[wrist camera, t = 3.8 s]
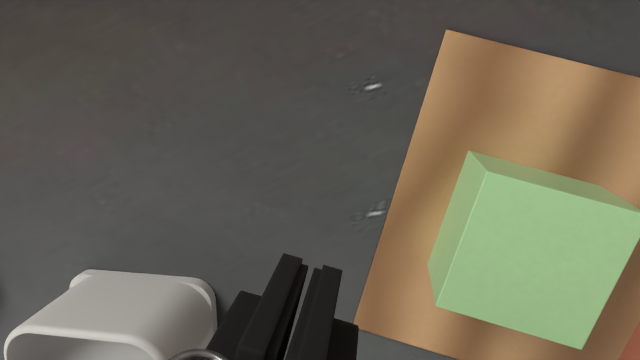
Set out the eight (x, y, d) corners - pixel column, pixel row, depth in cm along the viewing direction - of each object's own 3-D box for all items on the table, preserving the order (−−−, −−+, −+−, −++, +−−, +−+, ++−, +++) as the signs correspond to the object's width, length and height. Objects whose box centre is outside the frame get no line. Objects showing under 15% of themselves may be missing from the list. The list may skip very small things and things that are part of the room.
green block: (601, 185, 22) (652, 216, 18) (547, 299, 24) (581, 350, 20) (468, 150, 23) (486, 170, 18) (426, 264, 25) (435, 306, 21)
